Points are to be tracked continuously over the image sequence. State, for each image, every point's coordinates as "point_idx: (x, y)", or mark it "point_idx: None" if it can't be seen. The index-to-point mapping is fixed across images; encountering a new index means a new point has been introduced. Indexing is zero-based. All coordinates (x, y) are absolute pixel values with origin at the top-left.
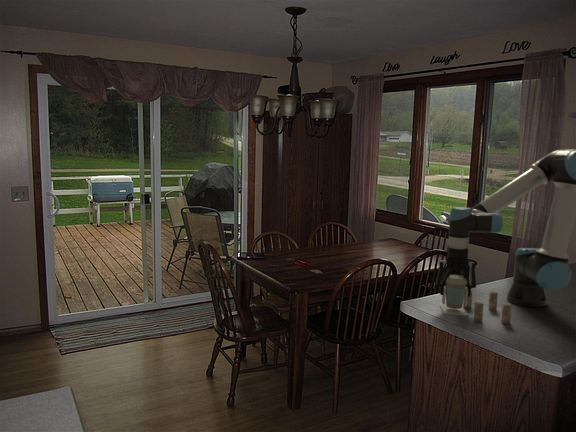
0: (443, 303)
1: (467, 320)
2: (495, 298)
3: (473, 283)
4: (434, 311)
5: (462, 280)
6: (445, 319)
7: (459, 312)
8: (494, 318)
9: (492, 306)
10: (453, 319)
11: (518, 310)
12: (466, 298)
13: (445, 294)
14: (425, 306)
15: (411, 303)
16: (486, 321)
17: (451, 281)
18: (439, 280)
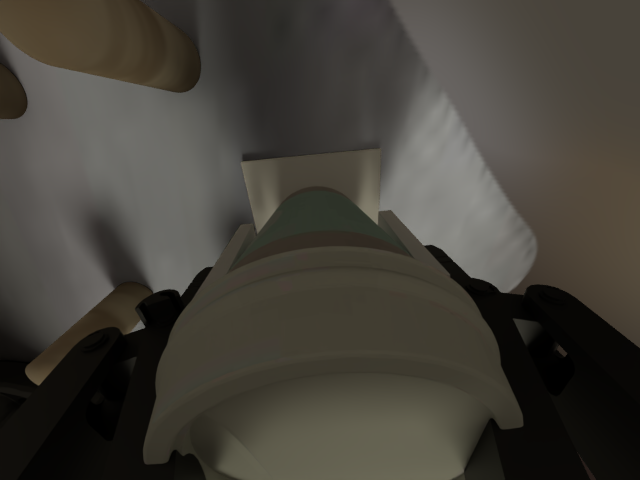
0: (388, 212)
1: (240, 61)
2: (66, 333)
3: (76, 380)
4: (421, 183)
5: (206, 363)
6: (386, 33)
7: (288, 190)
8: (89, 163)
9: (119, 295)
10: (331, 53)
11: (25, 314)
12: (232, 246)
13: (403, 241)
14: (447, 246)
15: (503, 267)
16: (119, 82)
17: (447, 309)
18: (594, 345)
